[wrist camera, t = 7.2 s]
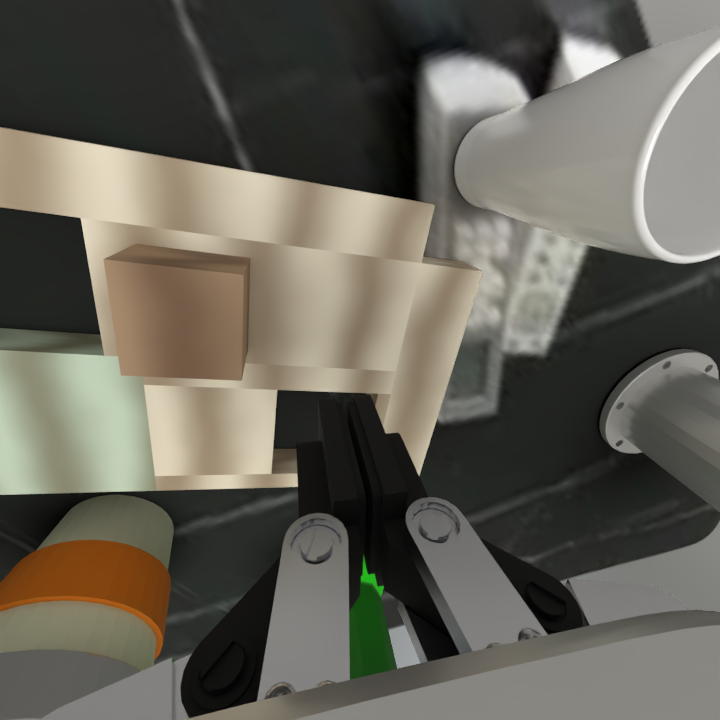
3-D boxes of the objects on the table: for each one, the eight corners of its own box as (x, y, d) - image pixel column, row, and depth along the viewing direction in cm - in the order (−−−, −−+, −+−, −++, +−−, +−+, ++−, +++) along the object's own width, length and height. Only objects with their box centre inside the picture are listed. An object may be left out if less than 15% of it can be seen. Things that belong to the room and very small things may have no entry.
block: (250, 257, 21) (243, 275, 17) (247, 349, 23) (241, 380, 20) (135, 243, 19) (103, 259, 16) (146, 343, 22) (120, 375, 18)
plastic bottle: (387, 511, 38) (525, 963, 16) (363, 573, 42) (446, 995, 21) (293, 509, 35) (308, 1050, 14) (277, 576, 40) (270, 1066, 18)
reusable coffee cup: (137, 588, 36) (54, 821, 23) (3, 539, 30) (-206, 815, 17) (223, 521, 34) (186, 735, 21) (98, 455, 28) (-60, 695, 15)
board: (477, 211, 25) (500, 216, 22) (406, 460, 35) (416, 483, 32) (-116, 106, 17) (-187, 94, 15) (10, 464, 27) (-19, 495, 25)
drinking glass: (438, 111, 22) (668, 20, 9) (540, 94, 22) (896, -15, 9) (442, 226, 25) (614, 285, 12) (530, 209, 26) (786, 246, 13)
